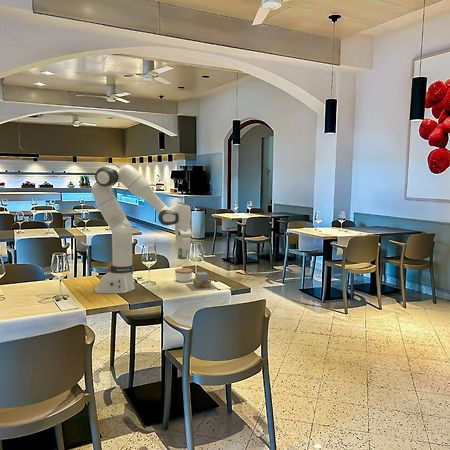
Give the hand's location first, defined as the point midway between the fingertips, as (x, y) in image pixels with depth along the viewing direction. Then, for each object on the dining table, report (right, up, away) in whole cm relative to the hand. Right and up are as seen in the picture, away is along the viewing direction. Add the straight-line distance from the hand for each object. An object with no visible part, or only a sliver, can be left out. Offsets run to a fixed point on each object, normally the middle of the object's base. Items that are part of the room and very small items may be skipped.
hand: (182, 255), depth 246 cm
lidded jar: (-1, -18, +23) cm, 30 cm away
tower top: (+11, -15, +10) cm, 21 cm away
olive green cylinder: (0, -2, 0) cm, 2 cm away
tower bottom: (+11, -19, +10) cm, 24 cm away
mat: (+10, -20, +10) cm, 25 cm away
